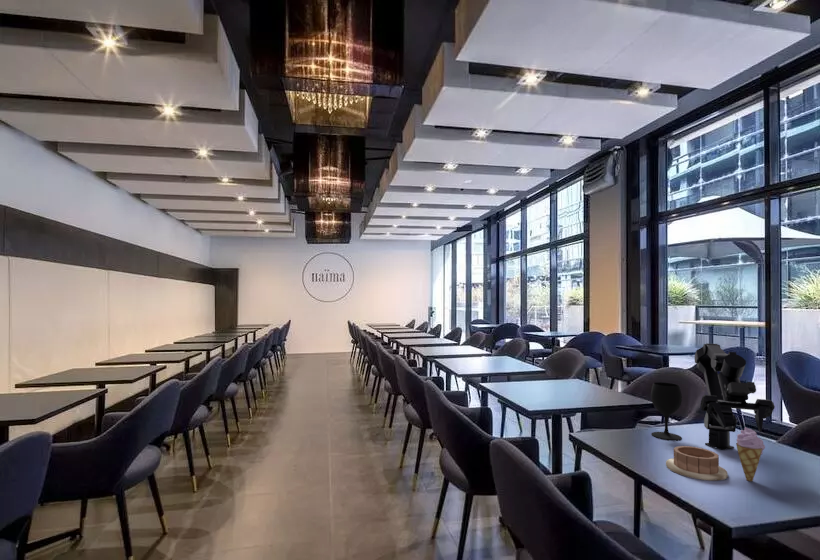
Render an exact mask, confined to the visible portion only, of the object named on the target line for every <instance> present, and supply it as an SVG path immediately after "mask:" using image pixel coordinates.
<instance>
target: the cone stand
mask: <svg viewBox="0 0 820 560" xmlns="http://www.w3.org/2000/svg"><path fill="white" fill-rule="evenodd" d="M719 458H720V457H719V454H718V453H716V452H715V451H712V450H709V449H706V448H702V447H698V446H697V447H696V446H688V445H687V446H686V445H679V446H675V447H674V448H673V458H669V459H667V460H666V461H665V466H667V467H666V468H667V469H668V470H669V469H670V471H671V472H673V473H675V474H678V475H681V476H683V477H686V478H691V479H695V480H702V481H711V482H716V481H717V482H718V481H724V480H726V479H728V476H729V475H728V474H729V473H728V471H727V470H726V469H725V468H723V467H722V466H720V465H719V464H720V463H719V461H720V459H719Z"/></svg>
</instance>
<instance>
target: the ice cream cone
mask: <svg viewBox="0 0 820 560" xmlns="http://www.w3.org/2000/svg"><path fill="white" fill-rule="evenodd" d="M736 436H737V439H736V449H737V453H738V458H739V461H740V464H741V467H742V470H743V473H744V477H745V480H746V481H748V482H753V480H754V477H755V475H756V471H757V469H758V466H759V463H760V459H761V455H763V453H764V450H765V449H766V446H765V444H764V440H763V439H761V438H760V437H759V436H758V435H757V432H756V431H755V430H753V429H752V428H748V427H746V426H745V427H744V429H741V430H740V433H738V434H737V435H736Z"/></svg>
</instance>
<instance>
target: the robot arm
mask: <svg viewBox="0 0 820 560" xmlns="http://www.w3.org/2000/svg"><path fill="white" fill-rule="evenodd" d="M694 363H695V364H696V366H697V370H698V371H699V372H701V373H702V374H703V376H704V381H705V385H706V391H707V394H704V395H703V396H702V398H701V401H700V410H701V411H703V412H706V413H705V416H704V419H703V426H704V428H706V430H708V442H705V443H704V444H705V445H706V446H708V447H712V448H716V449H717V450H718V449H719V450H722V451H725V450H730V449H731V450H732V449H735V446H733V445H731V443H730V442H731V441H730V440H731V437H730V436H731V435H730V433H736V429H737V422H738V419H737V417H736V415H735V414H734V412H733V409H734V410H735V409H736V410H749V411H753V413H754V419H755V424H756V427H757V430H758V432H760V433H762V430H763V424H764V419H767V418H768V417H771V416H772V414H773V412H774V409H775V407H776V406H775V403H774V402H773V400H771V399H763V398H756V400H755V402H747V401H748V399H749V395H750V394H755V393H756V392H757V387H756V384H755V382H754V381H747V382H741V380H740V379H741V377H742V375H743V373H744V370H745V367H746V364H747V361H746V359H745V358H744V357H742V356H741V355H739V354H737V352H736V351H728V353H726V352H725V351H724V350H723V349H722V348H721V345H720V344H718V343H707V342H706V343H704V344H703V345H702V347H700V348H697V350H695V353H694Z"/></svg>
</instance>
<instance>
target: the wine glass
mask: <svg viewBox="0 0 820 560" xmlns="http://www.w3.org/2000/svg"><path fill="white" fill-rule="evenodd" d="M681 390H682V389H681V387H680V385H679V384H677V383H671V382H665V381H664V382H662V381H661V382H660V381H659V382H658V381H656V382H653V383H652V386H651V392H650V399H651V402H652V405H653V407H654V408H655V409H656V410H657V411H658V412H659V413H661V414H662V415H663V416H664V417H663V418H664V431H652V432H651V433H650V434H651V436H652V437H653V438H656V439H659V440H663V441H669V440H676V441H675V442H679V441H682V439H683V437H682V436H681V435H678V434H677V433H673V432H669V426H668V425H669V417H670V416H671V415H672V414H675V412H677V411H678V410H679V409H680V407H681V405H682V401H683V397H682V396H683V395H682V391H681ZM678 440H679V441H678Z"/></svg>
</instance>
